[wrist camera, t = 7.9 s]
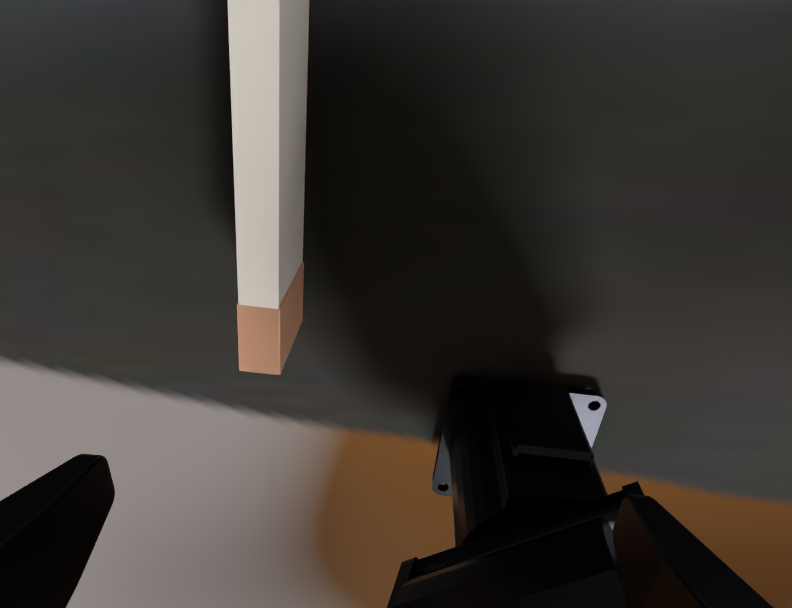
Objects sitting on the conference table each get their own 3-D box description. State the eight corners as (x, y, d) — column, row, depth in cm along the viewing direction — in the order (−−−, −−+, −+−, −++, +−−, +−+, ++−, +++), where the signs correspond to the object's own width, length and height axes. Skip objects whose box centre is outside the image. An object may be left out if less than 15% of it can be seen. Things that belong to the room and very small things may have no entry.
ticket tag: (302, 320, 20) (279, 375, 17) (268, 316, 20) (239, 370, 17) (318, -256, 13) (282, -349, 10) (264, -262, 13) (211, -358, 10)
